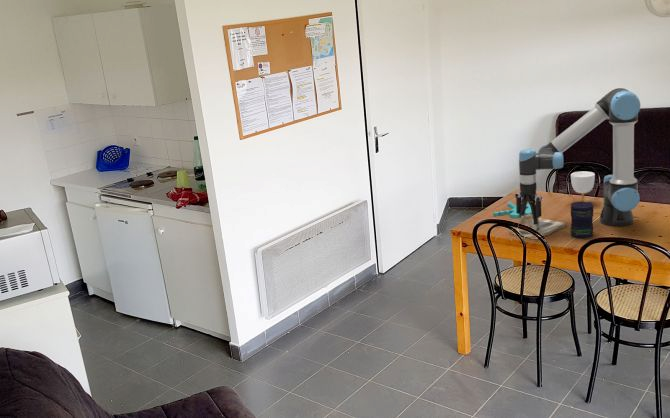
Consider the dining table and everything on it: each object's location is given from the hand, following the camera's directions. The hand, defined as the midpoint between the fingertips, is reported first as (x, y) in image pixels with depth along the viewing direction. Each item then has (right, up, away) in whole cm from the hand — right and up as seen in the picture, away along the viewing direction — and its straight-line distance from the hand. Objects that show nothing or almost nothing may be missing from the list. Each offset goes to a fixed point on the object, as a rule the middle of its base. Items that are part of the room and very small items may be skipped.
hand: (529, 229), depth 315 cm
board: (+6, 0, +4) cm, 7 cm away
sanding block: (0, 0, 0) cm, 0 cm away
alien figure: (+5, +7, +34) cm, 35 cm away
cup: (+38, +11, +33) cm, 52 cm away
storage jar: (+22, -3, -9) cm, 24 cm away
